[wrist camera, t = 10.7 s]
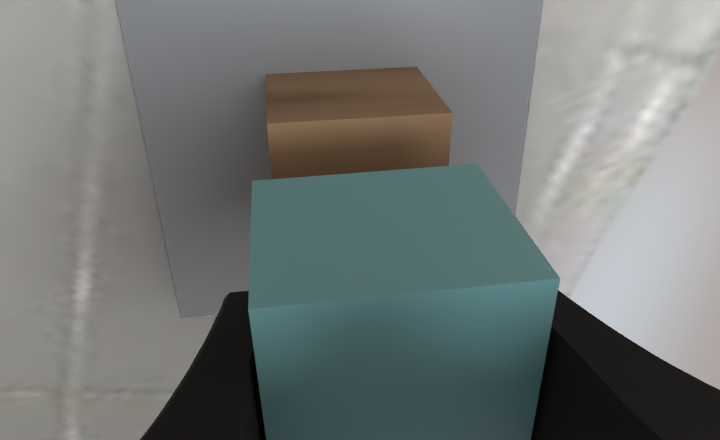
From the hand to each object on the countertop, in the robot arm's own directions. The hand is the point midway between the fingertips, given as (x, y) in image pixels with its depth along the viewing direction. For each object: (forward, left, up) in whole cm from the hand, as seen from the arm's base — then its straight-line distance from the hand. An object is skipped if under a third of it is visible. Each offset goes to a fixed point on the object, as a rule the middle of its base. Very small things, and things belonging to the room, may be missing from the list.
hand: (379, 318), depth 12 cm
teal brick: (0, 0, -1) cm, 1 cm away
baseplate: (0, 0, -9) cm, 9 cm away
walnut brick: (0, 0, -8) cm, 8 cm away
